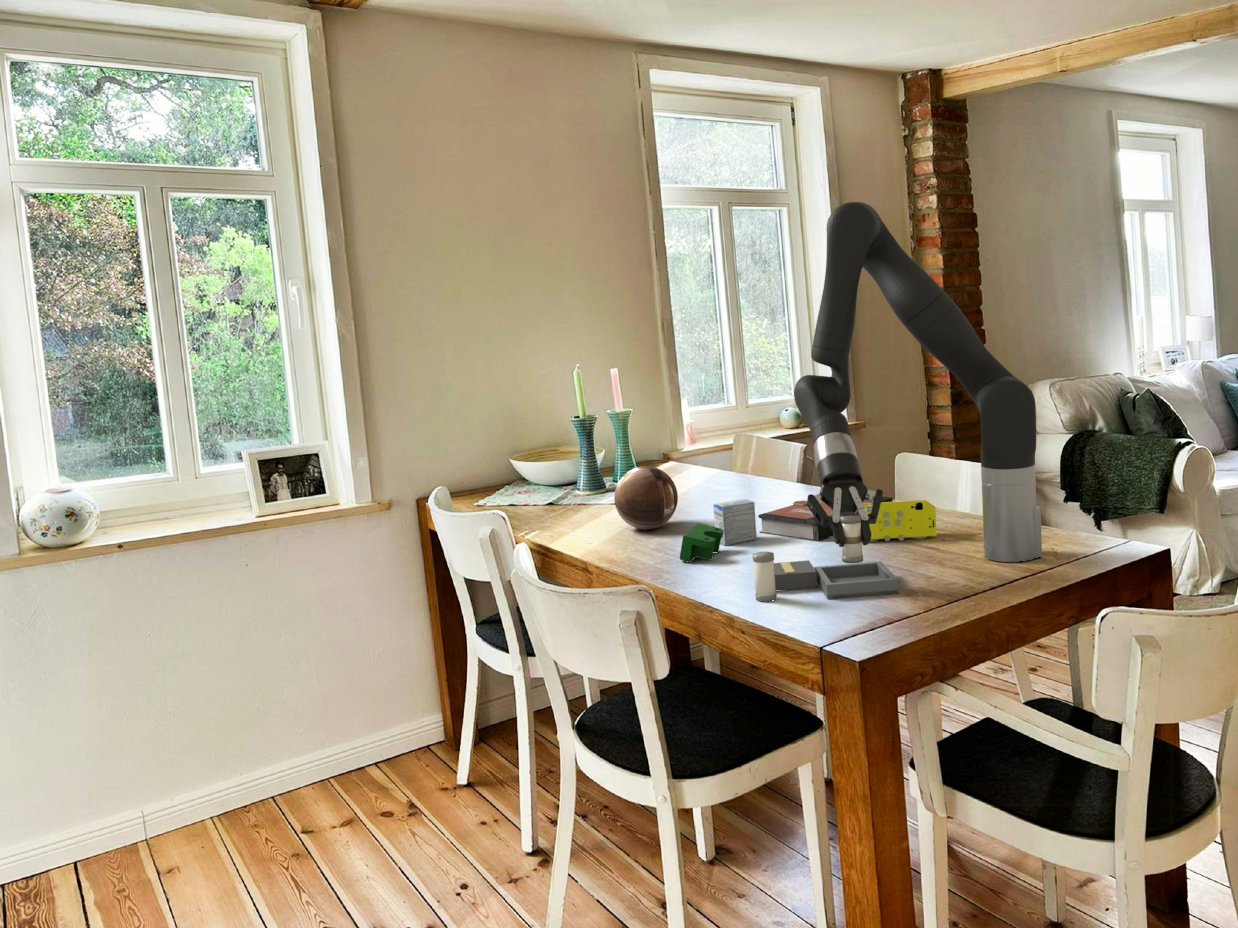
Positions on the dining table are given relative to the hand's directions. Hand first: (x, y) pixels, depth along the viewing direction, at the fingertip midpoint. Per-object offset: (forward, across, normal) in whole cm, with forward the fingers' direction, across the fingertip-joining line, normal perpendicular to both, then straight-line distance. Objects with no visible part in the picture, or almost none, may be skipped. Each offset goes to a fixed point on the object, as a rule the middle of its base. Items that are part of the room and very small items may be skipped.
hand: (854, 543), depth 170 cm
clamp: (-17, -24, +29) cm, 42 cm away
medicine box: (-24, -17, +37) cm, 47 cm away
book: (-30, +4, +43) cm, 53 cm away
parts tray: (+4, 0, +7) cm, 8 cm away
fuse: (+7, -16, +5) cm, 18 cm away
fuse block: (+1, -11, +11) cm, 15 cm away
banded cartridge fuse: (+1, 0, +4) cm, 4 cm away
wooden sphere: (-38, -36, +51) cm, 73 cm away
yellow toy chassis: (-18, +15, +30) cm, 38 cm away
